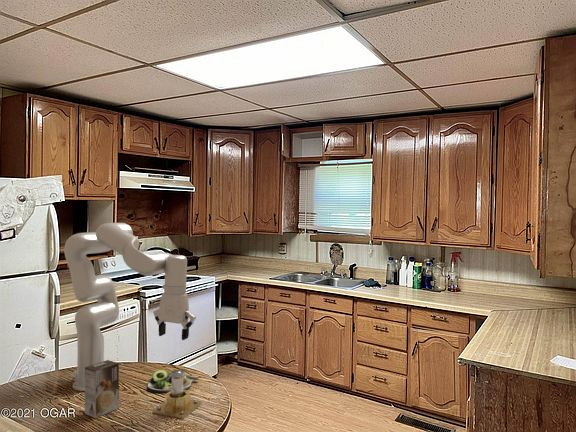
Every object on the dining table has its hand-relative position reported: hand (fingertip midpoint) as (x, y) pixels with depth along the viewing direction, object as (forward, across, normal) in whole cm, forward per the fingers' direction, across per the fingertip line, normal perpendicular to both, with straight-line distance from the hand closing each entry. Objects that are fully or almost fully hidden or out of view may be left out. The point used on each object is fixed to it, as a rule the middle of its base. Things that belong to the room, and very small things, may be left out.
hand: (173, 337), depth 156 cm
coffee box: (+25, -18, -14) cm, 34 cm away
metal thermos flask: (+23, +5, -3) cm, 23 cm away
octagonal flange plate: (+24, +5, -3) cm, 24 cm away
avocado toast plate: (+25, -10, +14) cm, 30 cm away
